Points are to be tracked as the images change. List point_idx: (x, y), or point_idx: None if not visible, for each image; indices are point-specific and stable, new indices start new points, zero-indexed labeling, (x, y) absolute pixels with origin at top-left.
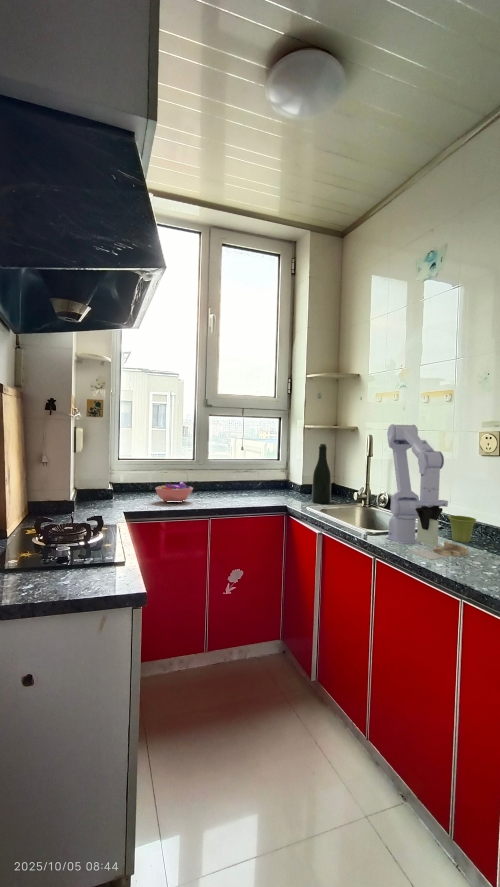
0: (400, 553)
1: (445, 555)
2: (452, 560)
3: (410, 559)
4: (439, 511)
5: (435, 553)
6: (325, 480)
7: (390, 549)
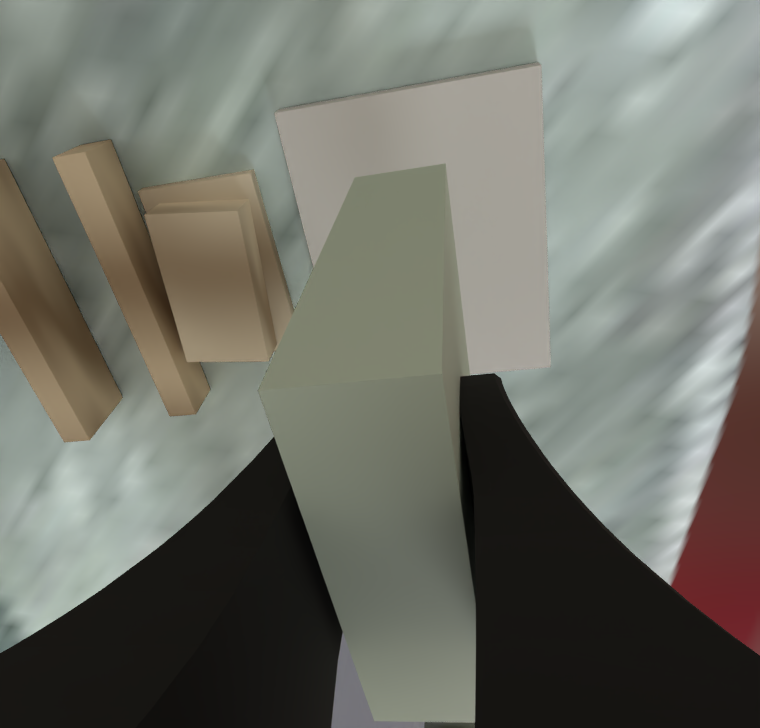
0: (650, 354)
1: (234, 186)
2: (235, 28)
3: (727, 150)
4: (61, 694)
5: (321, 247)
6: None
7: (642, 465)
